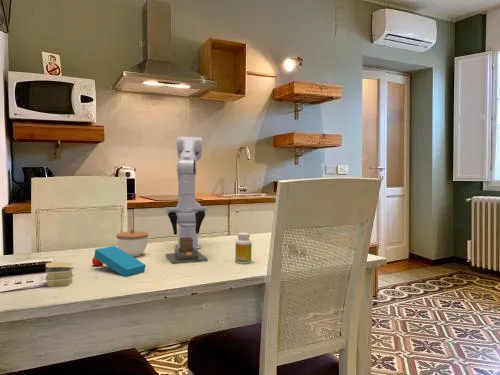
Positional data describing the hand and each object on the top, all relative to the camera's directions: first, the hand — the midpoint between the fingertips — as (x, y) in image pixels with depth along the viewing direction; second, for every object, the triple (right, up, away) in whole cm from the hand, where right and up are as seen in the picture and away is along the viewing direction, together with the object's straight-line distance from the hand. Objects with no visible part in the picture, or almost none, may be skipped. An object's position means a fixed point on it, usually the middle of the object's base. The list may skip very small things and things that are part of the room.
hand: (186, 233), depth 139 cm
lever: (-20, -10, -15) cm, 27 cm away
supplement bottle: (+20, -9, -3) cm, 22 cm away
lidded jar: (-20, -8, +4) cm, 22 cm away
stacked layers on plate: (-30, -10, -31) cm, 44 cm away
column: (0, -9, +1) cm, 9 cm away
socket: (0, -9, +1) cm, 9 cm away
